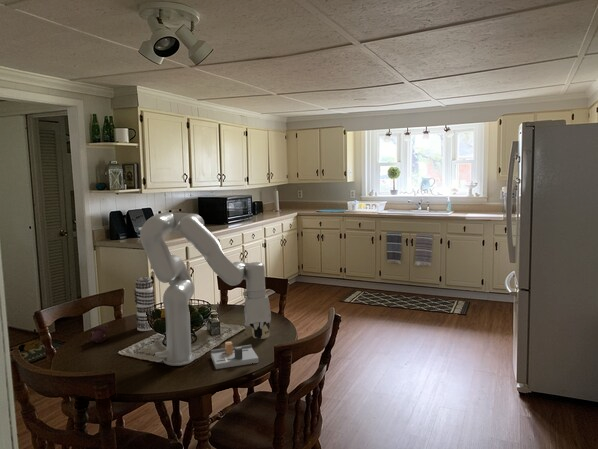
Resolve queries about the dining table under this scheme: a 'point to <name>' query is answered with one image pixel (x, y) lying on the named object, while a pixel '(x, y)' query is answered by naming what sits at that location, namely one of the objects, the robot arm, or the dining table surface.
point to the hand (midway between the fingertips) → (258, 337)
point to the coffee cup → (263, 331)
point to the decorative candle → (143, 302)
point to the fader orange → (229, 347)
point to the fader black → (238, 352)
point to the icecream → (99, 334)
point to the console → (233, 357)
